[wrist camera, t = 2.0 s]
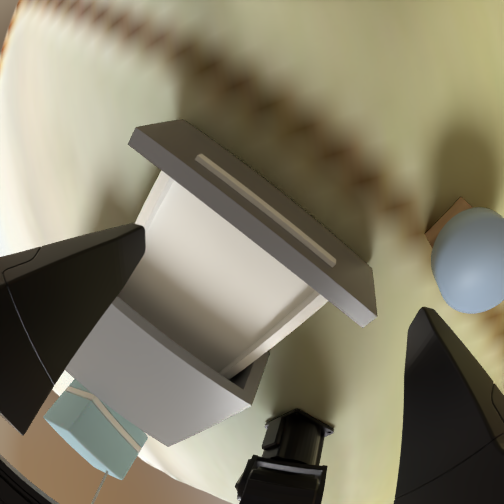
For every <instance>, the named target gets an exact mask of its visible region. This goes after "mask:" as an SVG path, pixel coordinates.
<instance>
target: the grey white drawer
mask: <svg viewBox="0 0 504 504" xmlns="http://www.w3.org/2000/svg"><path fill="white" fill-rule="evenodd" d="M128 145H129V146H130V147H132V148H133V149H134V150H136V151H137V152H138V153H140V154H141V155H142V156H144V157H145V158H146V159H147V160H149V161H150V162H151V163H153V164H154V165H155V166H157V167H158V168H159V169H160V170H161V172H160V174H159V176H158V178H157V180H156V182H155V183H154V185H153V187H152V189H151V191H150V193H149V195H148V197H147V199H146V201H145V203H144V205H143V207H142V209H141V212H140V214H139V216H138V218H137V220H136V222H135V224H138V225H142V226H143V227H144V228H145V239H146V250H145V253H144V256H143V257H142V259H141V260H140V262H139V264H138V265H137V267H136V268H135V270H134V271H133V273H132V275H131V276H130V278H129V280H128V281H127V283H126V284H125V286H124V287H123V289H122V290H121V292H120V293H119V294H118V297H119V298H120V299H122V300H123V301H124V302H125V303H126V304H127V305H129V306H130V307H131V308H132V309H133V310H135V311H136V312H137V313H138V314H140V315H141V316H142V317H143V318H144V319H146V320H147V321H148V322H149V323H151V324H152V325H153V326H155V327H156V328H157V329H158V330H160V331H161V332H162V333H164V334H165V335H166V336H167V337H169V338H170V339H171V340H173V341H174V342H175V343H177V344H178V345H179V346H181V347H182V348H183V349H185V350H186V351H188V352H189V353H190V354H192V355H193V356H194V357H196V358H197V359H199V360H200V361H202V362H203V363H204V364H206V365H207V366H209V367H210V368H212V369H213V370H214V371H216V372H217V373H219V374H220V375H222V376H223V377H225V378H226V379H228V380H230V379H231V378H232V377H234V376H235V375H236V374H238V373H239V372H240V371H242V370H243V369H245V368H246V367H247V366H249V365H250V364H251V363H253V362H254V361H255V360H256V359H258V358H259V357H260V356H262V355H263V354H264V353H266V352H267V351H268V350H269V349H271V348H272V347H273V346H275V345H276V344H277V343H278V342H280V341H281V340H282V339H283V338H285V337H286V336H287V335H288V334H290V333H291V332H292V331H293V330H295V329H296V328H297V327H298V326H299V325H301V324H302V323H303V322H304V321H305V320H307V319H308V318H309V317H310V316H311V315H313V314H314V313H315V312H316V311H317V310H319V309H320V308H321V307H322V306H323V305H324V304H326V303H327V302H328V301H329V302H331V303H332V304H333V305H334V306H336V307H337V308H338V309H339V310H341V311H342V312H343V313H344V314H346V315H347V316H348V317H349V318H351V319H352V320H353V321H354V322H356V323H357V324H358V325H359V326H361V327H362V328H363V327H365V326H366V325H367V324H369V323H370V322H371V321H372V320H374V319H375V318H376V317H377V308H376V298H375V289H374V280H373V272H372V268H371V267H370V266H369V265H368V264H367V263H365V262H364V261H363V260H362V259H361V258H360V257H359V256H358V255H356V254H355V253H354V252H353V251H352V250H351V249H349V248H348V247H347V246H346V245H345V244H344V243H343V242H341V241H340V240H339V239H338V238H337V237H336V236H334V235H333V234H332V233H331V232H330V231H328V230H327V229H326V228H325V227H324V226H322V225H321V224H320V223H319V222H318V221H316V220H315V219H314V218H313V217H312V216H310V215H309V214H308V213H307V212H306V211H304V210H303V209H302V208H301V207H299V206H298V205H297V204H296V203H294V202H293V201H292V200H291V199H289V198H288V197H287V196H286V195H284V194H283V193H282V192H281V191H279V190H278V189H277V188H276V187H274V186H273V185H272V184H270V183H269V182H268V181H267V180H265V179H264V178H263V177H261V176H260V175H259V174H258V173H256V172H255V171H254V170H252V169H251V168H250V167H248V166H247V165H246V164H244V163H243V162H242V161H240V160H239V159H238V158H236V157H235V156H234V155H232V154H231V153H230V152H228V151H227V150H226V149H224V148H223V147H221V146H220V145H219V144H217V143H216V142H215V141H213V140H212V139H210V138H209V137H208V136H206V135H205V134H203V133H202V132H201V131H199V130H198V129H196V128H195V127H194V126H192V125H191V124H189V123H188V122H186V121H185V120H184V119H181V120H174V121H168V122H162V123H156V124H150V125H145V126H140V127H136V128H135V130H134V132H133V134H132V136H131V138H130V141H129V143H128Z"/></svg>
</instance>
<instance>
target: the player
mask: <svg viewBox="0 0 504 504" xmlns="http://www.w3.org/2000/svg"><path fill="white" fill-rule="evenodd" d="M268 357H269V353H268V352H266V353H264V354H263V355H262V356H260V357H259V358H258V359H256V360H255V361H254V362H253V363H251V364H250V365H249V366H247V367H246V368H245V369H243V370H242V371H240V372H239V373H238V374H236V375H235V376H234V377H232V378H231V379H230V380H228V379H226V378H225V377H223V376H222V375H220V374H219V373H217V372H216V371H214V370H213V369H212V368H210V367H209V366H207V365H206V364H204V363H203V362H202V361H200V360H199V359H197V358H196V357H194V356H193V355H192V354H190V353H189V352H188V351H186V350H185V349H183V348H182V347H181V346H179V345H178V344H177V343H175V342H174V341H173V340H171V339H170V338H169V337H167V336H166V335H165V334H164V333H162V332H161V331H160V330H158V329H157V328H156V327H155V326H153V325H152V324H151V323H149V322H148V321H147V320H146V319H144V318H143V317H142V316H141V315H140V314H138V313H137V312H136V311H135V310H133V309H132V308H131V307H130V306H129V305H127V304H126V303H125V302H124V301H123V300H122V299H120V298H119V297H118V296H117V297H116V298H115V300H114V301H113V302H112V304H111V305H110V306H109V308H108V309H107V310H106V312H105V313H104V314H103V316H102V317H101V318H100V320H99V321H98V323H97V324H96V325H95V327H94V328H93V330H92V331H91V332H90V334H89V335H88V337H87V338H86V339H85V341H84V342H83V344H82V345H81V346H80V348H79V349H78V351H77V352H76V354H75V355H74V357H73V358H72V360H71V361H70V363H69V364H68V365H67V367H66V368H65V370H66V371H67V372H68V373H69V374H70V375H71V376H72V377H73V378H75V379H76V380H77V381H78V382H79V383H80V384H82V385H83V386H84V387H85V388H86V389H87V390H89V391H90V392H91V393H92V394H94V395H95V396H96V397H97V398H99V399H100V400H101V401H102V402H104V403H105V404H106V405H108V406H109V407H110V408H111V409H113V410H114V411H115V412H117V413H118V414H120V415H121V416H122V417H124V418H125V419H126V420H128V421H129V422H131V423H132V424H134V425H135V426H136V427H138V428H139V429H141V430H142V431H144V432H145V433H147V434H148V435H150V436H152V437H153V438H155V439H156V440H158V441H159V442H161V443H163V444H164V445H166V446H168V447H169V446H171V445H173V444H176V443H178V442H180V441H182V440H185V439H187V438H189V437H191V436H193V435H195V434H197V433H200V432H202V431H204V430H206V429H208V428H210V427H212V426H214V425H216V424H218V423H220V422H222V421H224V420H226V419H228V418H229V417H231V416H233V415H235V414H237V413H239V412H241V411H243V410H244V409H246V408H248V407H250V406H252V403H253V400H254V397H255V395H256V392H257V389H258V386H259V383H260V381H261V378H262V375H263V372H264V369H265V366H266V363H267V360H268Z"/></svg>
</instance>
